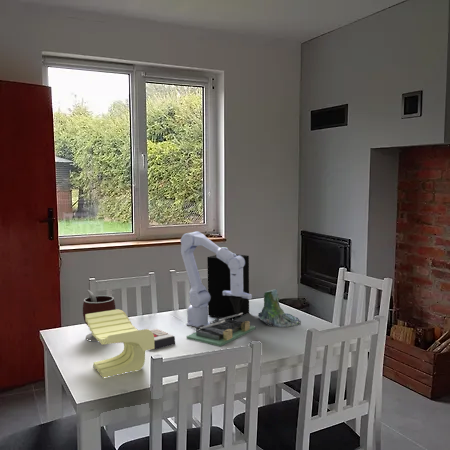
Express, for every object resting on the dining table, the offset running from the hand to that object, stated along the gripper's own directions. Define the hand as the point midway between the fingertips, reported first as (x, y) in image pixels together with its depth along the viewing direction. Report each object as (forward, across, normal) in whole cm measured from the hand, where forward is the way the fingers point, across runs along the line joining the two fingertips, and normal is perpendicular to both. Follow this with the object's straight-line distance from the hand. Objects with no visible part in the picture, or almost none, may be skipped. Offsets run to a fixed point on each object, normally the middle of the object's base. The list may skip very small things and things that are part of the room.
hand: (237, 312), depth 220 cm
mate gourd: (+8, +47, +40) cm, 62 cm away
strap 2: (+3, +4, 0) cm, 5 cm away
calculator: (+9, +21, +32) cm, 39 cm away
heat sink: (+7, +3, +7) cm, 11 cm away
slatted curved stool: (+8, +13, +60) cm, 62 cm away
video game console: (+9, +18, -19) cm, 27 cm away
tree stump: (+9, -9, -22) cm, 26 cm away
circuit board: (+8, +4, +7) cm, 11 cm away
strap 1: (+3, +4, +14) cm, 15 cm away
